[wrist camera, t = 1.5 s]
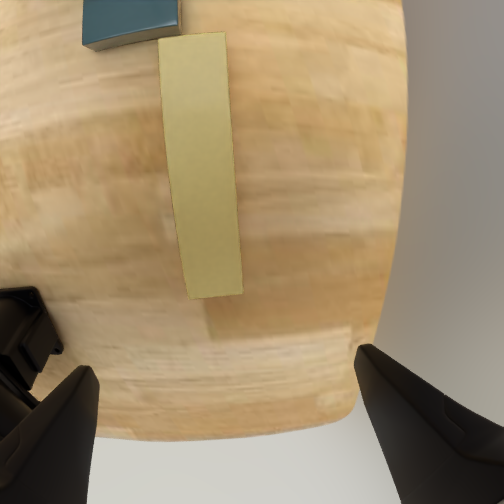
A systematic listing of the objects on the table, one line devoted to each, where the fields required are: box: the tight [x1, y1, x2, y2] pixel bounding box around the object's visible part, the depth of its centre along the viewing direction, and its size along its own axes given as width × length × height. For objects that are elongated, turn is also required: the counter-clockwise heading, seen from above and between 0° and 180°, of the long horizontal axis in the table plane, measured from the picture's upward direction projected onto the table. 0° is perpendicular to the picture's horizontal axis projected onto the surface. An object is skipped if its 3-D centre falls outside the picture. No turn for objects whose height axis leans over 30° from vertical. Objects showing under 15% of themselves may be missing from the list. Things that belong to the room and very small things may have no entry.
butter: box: [158, 32, 244, 300], centre depth 16 cm, size 14×3×3 cm, turn 3°
